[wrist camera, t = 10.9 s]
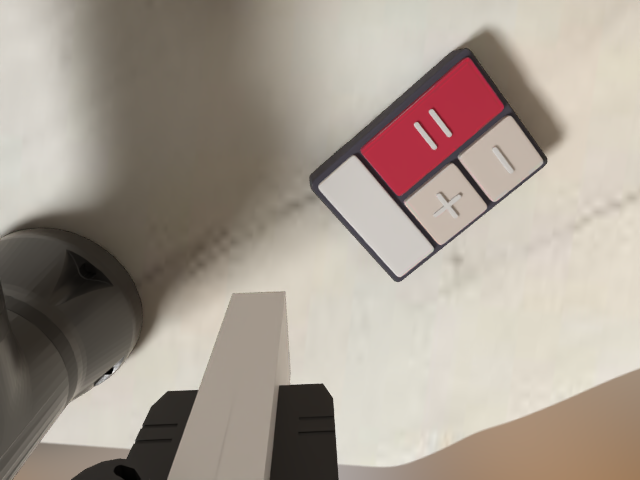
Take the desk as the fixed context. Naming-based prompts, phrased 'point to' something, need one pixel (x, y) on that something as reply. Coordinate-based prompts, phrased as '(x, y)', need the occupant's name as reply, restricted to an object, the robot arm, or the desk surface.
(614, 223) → the desk surface
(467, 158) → the calculator
